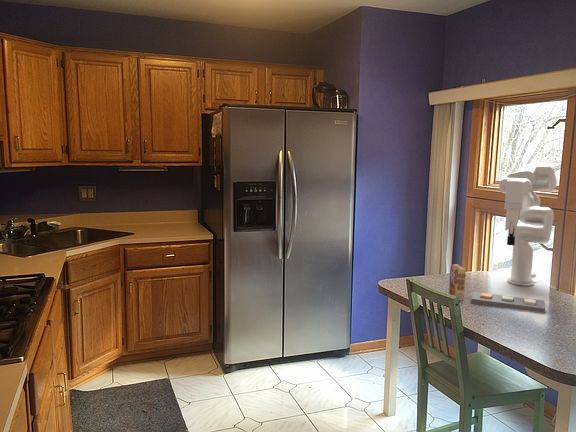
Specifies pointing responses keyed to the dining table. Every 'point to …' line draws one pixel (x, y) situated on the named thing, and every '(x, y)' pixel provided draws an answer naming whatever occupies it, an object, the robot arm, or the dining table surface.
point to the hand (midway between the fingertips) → (510, 244)
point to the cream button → (529, 301)
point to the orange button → (486, 295)
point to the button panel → (516, 304)
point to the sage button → (507, 298)
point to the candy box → (457, 281)
